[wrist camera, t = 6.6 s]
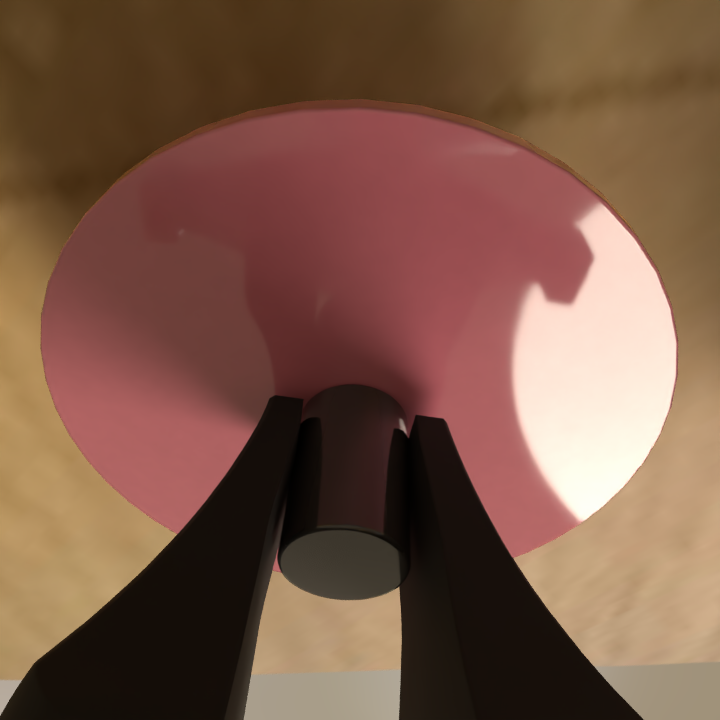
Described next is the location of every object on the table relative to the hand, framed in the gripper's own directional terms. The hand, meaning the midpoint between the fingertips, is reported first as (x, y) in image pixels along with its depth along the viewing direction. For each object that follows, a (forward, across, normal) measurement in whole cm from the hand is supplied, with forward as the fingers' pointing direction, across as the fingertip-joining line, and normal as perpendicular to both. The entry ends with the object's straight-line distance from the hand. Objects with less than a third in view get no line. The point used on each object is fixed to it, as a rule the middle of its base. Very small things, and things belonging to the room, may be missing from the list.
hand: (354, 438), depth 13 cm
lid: (+1, 0, 0) cm, 1 cm away
